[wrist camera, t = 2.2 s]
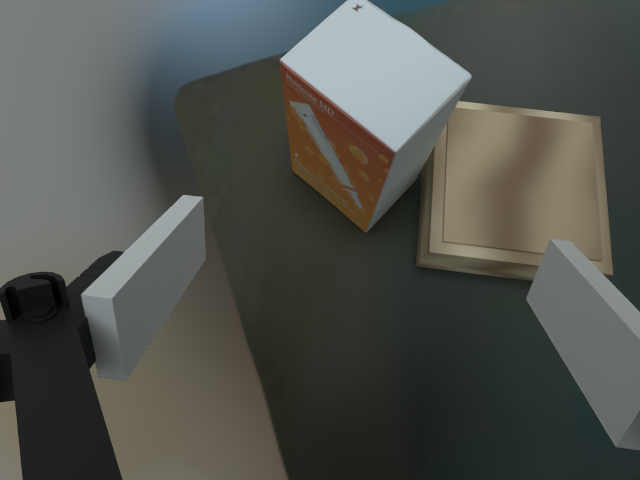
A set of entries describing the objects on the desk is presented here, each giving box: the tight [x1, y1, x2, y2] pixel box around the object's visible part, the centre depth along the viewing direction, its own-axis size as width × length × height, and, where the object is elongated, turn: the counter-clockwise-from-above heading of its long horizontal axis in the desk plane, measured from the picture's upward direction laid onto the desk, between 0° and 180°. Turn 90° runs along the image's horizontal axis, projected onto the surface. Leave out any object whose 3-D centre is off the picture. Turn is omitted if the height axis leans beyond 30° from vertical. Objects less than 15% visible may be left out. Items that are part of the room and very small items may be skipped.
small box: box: [280, 0, 472, 233], centre depth 27 cm, size 8×6×13 cm
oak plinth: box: [416, 101, 613, 281], centre depth 31 cm, size 12×12×4 cm
